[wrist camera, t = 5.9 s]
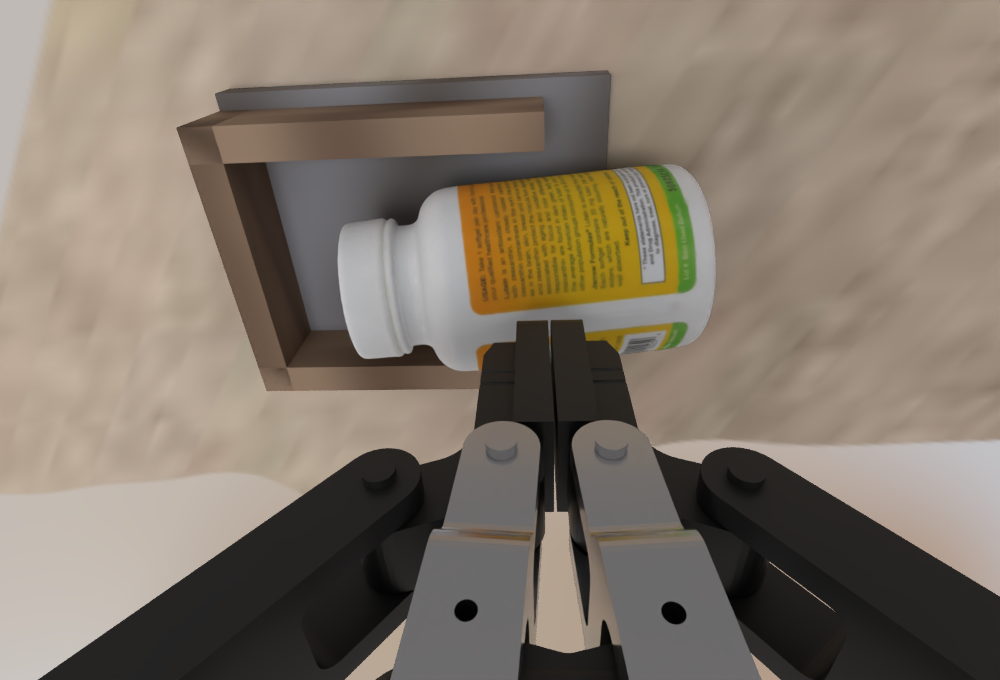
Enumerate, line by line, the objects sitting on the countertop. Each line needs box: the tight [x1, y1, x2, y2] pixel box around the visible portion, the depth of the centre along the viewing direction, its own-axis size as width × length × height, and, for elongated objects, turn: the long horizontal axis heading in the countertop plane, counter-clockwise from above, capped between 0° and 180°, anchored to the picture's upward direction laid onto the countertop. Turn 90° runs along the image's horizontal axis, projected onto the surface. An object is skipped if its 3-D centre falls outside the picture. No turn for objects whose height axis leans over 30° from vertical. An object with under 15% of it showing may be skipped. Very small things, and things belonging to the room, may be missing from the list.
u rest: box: [177, 71, 611, 391], centre depth 18 cm, size 12×10×4 cm
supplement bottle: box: [338, 164, 716, 371], centre depth 16 cm, size 5×5×10 cm
